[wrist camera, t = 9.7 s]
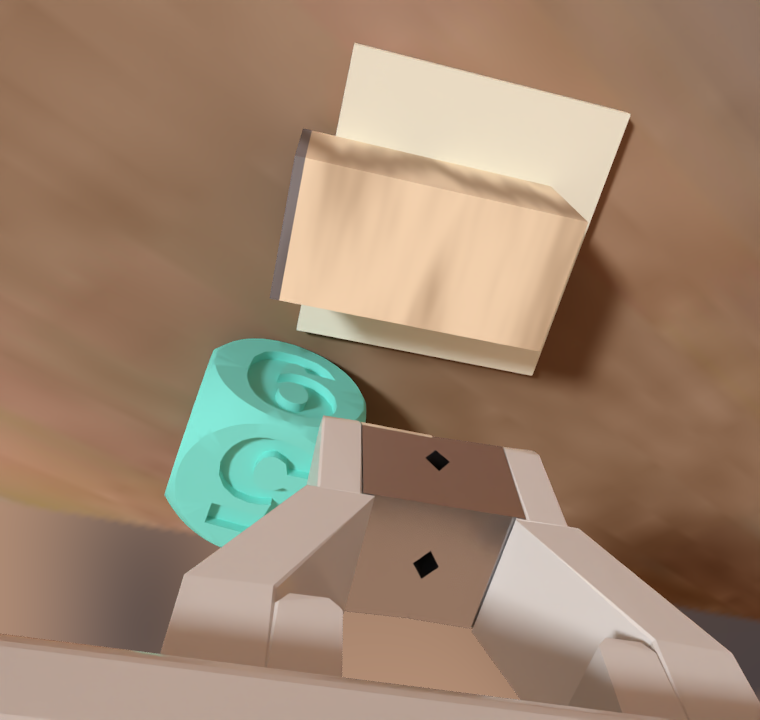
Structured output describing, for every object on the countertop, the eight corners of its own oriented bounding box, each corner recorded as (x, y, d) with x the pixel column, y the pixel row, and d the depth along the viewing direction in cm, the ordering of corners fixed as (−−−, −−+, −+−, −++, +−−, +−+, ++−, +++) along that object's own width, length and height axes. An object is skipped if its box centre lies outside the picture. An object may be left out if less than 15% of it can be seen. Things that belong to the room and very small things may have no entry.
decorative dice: (185, 439, 41) (151, 533, 34) (224, 319, 38) (196, 396, 31) (316, 478, 43) (311, 575, 36) (365, 367, 39) (370, 450, 32)
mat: (624, 111, 34) (630, 114, 33) (528, 368, 40) (532, 375, 39) (354, 42, 32) (354, 43, 31) (297, 323, 38) (296, 329, 37)
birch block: (303, 128, 33) (550, 186, 34) (281, 251, 35) (512, 299, 37) (295, 155, 27) (588, 222, 29) (269, 298, 30) (539, 351, 32)
